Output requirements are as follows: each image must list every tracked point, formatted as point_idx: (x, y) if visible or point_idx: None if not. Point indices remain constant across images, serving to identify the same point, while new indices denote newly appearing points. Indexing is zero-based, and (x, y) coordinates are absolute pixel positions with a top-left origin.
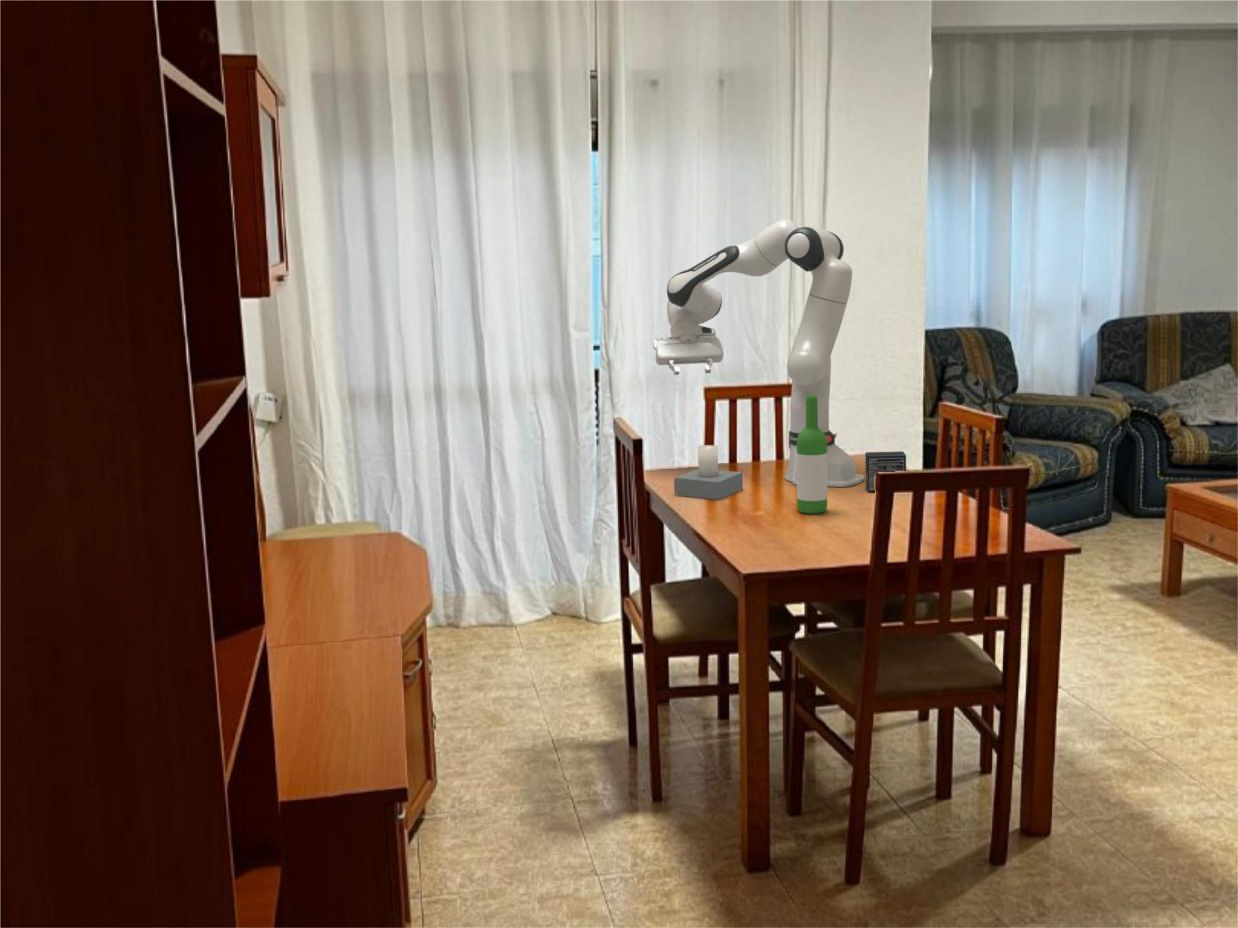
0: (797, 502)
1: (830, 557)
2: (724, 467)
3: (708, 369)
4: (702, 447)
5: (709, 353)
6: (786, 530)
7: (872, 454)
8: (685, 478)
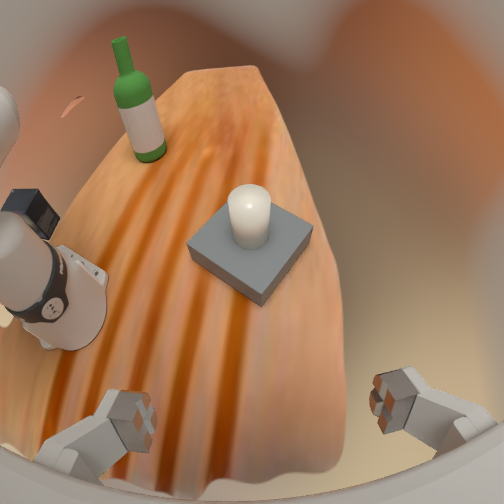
0: (164, 142)
1: (198, 76)
2: (185, 462)
3: (125, 392)
4: (261, 195)
5: (23, 481)
6: (202, 110)
7: (30, 193)
8: (293, 217)
